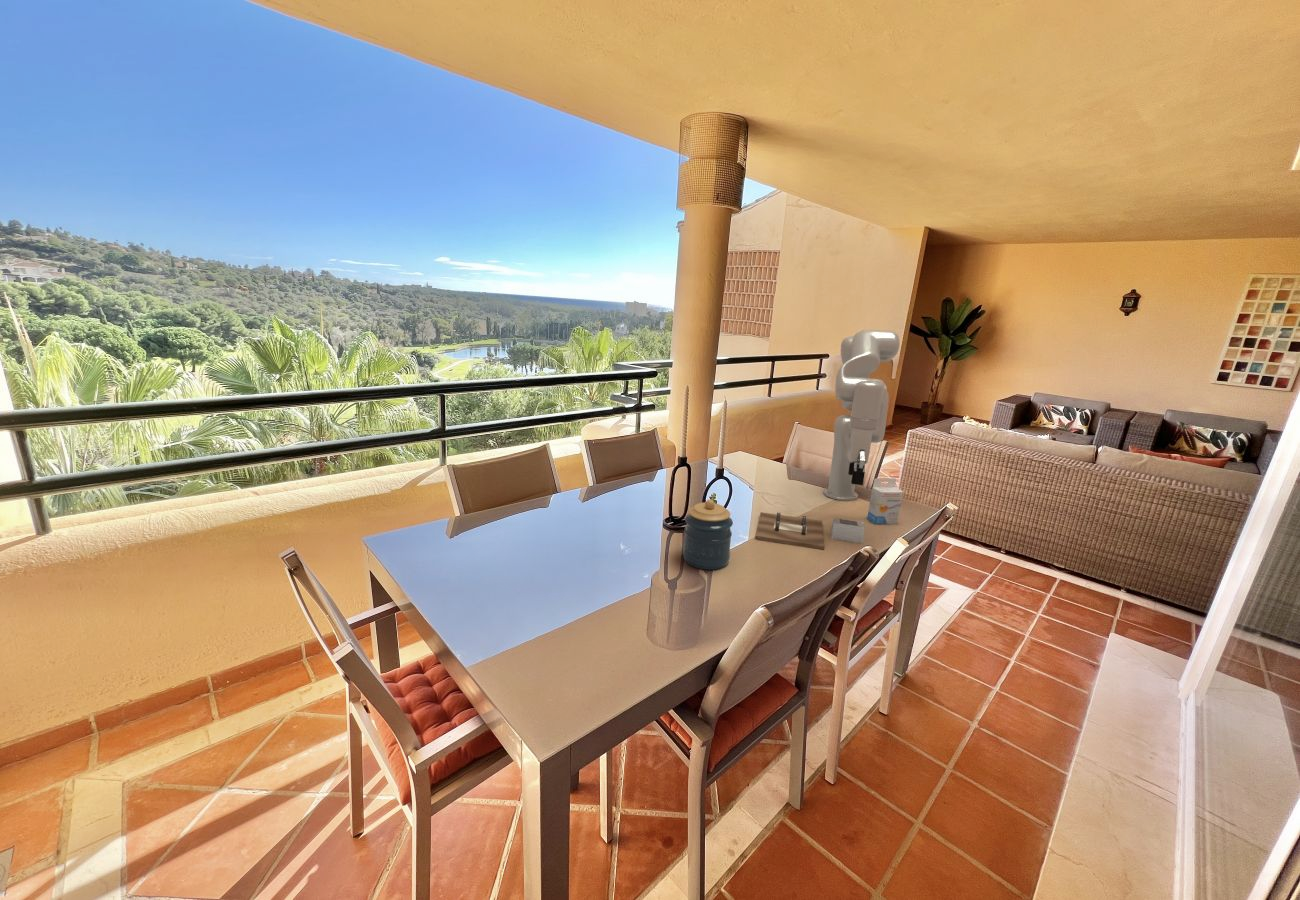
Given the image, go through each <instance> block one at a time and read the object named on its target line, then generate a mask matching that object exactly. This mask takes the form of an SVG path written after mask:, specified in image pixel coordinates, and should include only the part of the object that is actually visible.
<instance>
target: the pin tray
mask: <svg viewBox="0 0 1300 900" xmlns="http://www.w3.org/2000/svg"><path fill="white" fill-rule="evenodd" d="M823 526H824V525H823V520H821V519H820V520H819V519H815V518H813V519H812V518H808V517H807V516H806V515H802V516H801V517H798V516H792V515H784V514H783V515H782V514H781V512H776V513H768V512H760V515H759V519H758V523H757V528H756V533H755V540H756V541H763V542H771V543H777V544H784V545H791V546H797V547H802V548H803V547H804V548H809V549H810V548H811V549H817V550H825V548H826V547H825V545H826V544H825V536H824V528H823Z"/></svg>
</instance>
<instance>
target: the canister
mask: <svg viewBox="0 0 1300 900" xmlns="http://www.w3.org/2000/svg"><path fill="white" fill-rule="evenodd" d="M684 517H685V518H684V521H685V523H686V525H685V527H684V540H683V548H682V551H683V552H682V554H683V555H682V556H683V559H684V561H685V563H686V564H688V565H690V566H691V567H693V568H697V569H700V570H706V571H709V570H710V571H711V570H712V571H713V570H719V569H722V568H725V567H726V566H728V564H729V562H730V561H729V560H730V558H731V539H732V535H733V534H732V530H731V528H732V526H733V525H734V522H733V519H732V518H731V512H730V510H729V509H727V508H725V506H723V505H722V504H720V503H715V501H714V500H713V499H707V500H706V501H705V502H704V501H703V502H698V503H696V504H694V505H693V506H691V507H689V509H688V514H686V515H685V516H684Z"/></svg>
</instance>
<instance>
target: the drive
mask: <svg viewBox="0 0 1300 900" xmlns="http://www.w3.org/2000/svg"><path fill="white" fill-rule="evenodd" d="M865 531H866V526H865V523H864V521H859V520H852V519H845V518H836V517H832V521H831V529H830V537H831V538H830V539H831V540H836V541H842V542H850V543H855V544H863V543H864V537H865Z"/></svg>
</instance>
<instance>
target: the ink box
mask: <svg viewBox="0 0 1300 900" xmlns="http://www.w3.org/2000/svg"><path fill="white" fill-rule="evenodd" d="M883 482H885V483H883ZM896 482H897V478H896V477H894V478H892V477H887V478H886V477H881V478H880V477H879V478H875V477H874V479H873V485H872V487H871V492H870V493H871V494H870V498H869V505H868V510H867V511H868V512H867V520H868V521H870V522H872V523H873V524H874V525H898V522H899V518H900V517H899V516H900V512H901V507H902V501H903V496H904V491H903V490H901V489H899V488H898V487H896Z"/></svg>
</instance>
